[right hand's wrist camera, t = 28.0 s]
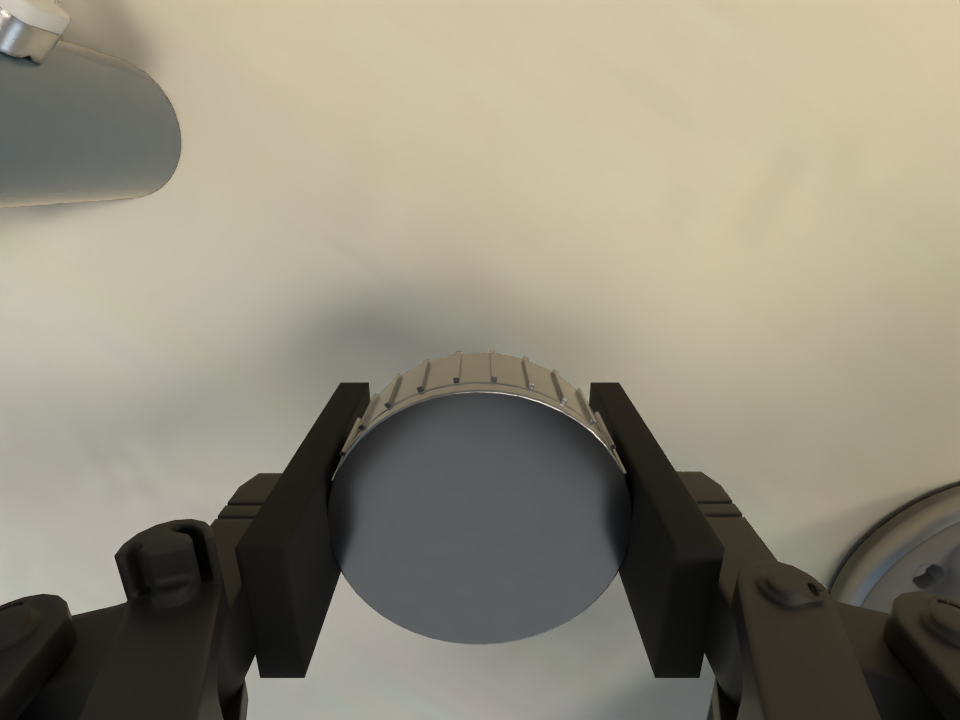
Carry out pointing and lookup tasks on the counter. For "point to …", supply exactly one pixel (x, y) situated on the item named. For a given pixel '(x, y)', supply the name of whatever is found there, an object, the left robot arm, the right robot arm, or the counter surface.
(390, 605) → the lid
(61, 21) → the left robot arm
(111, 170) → the jar
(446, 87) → the counter surface
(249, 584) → the right robot arm
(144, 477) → the counter surface
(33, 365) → the counter surface
